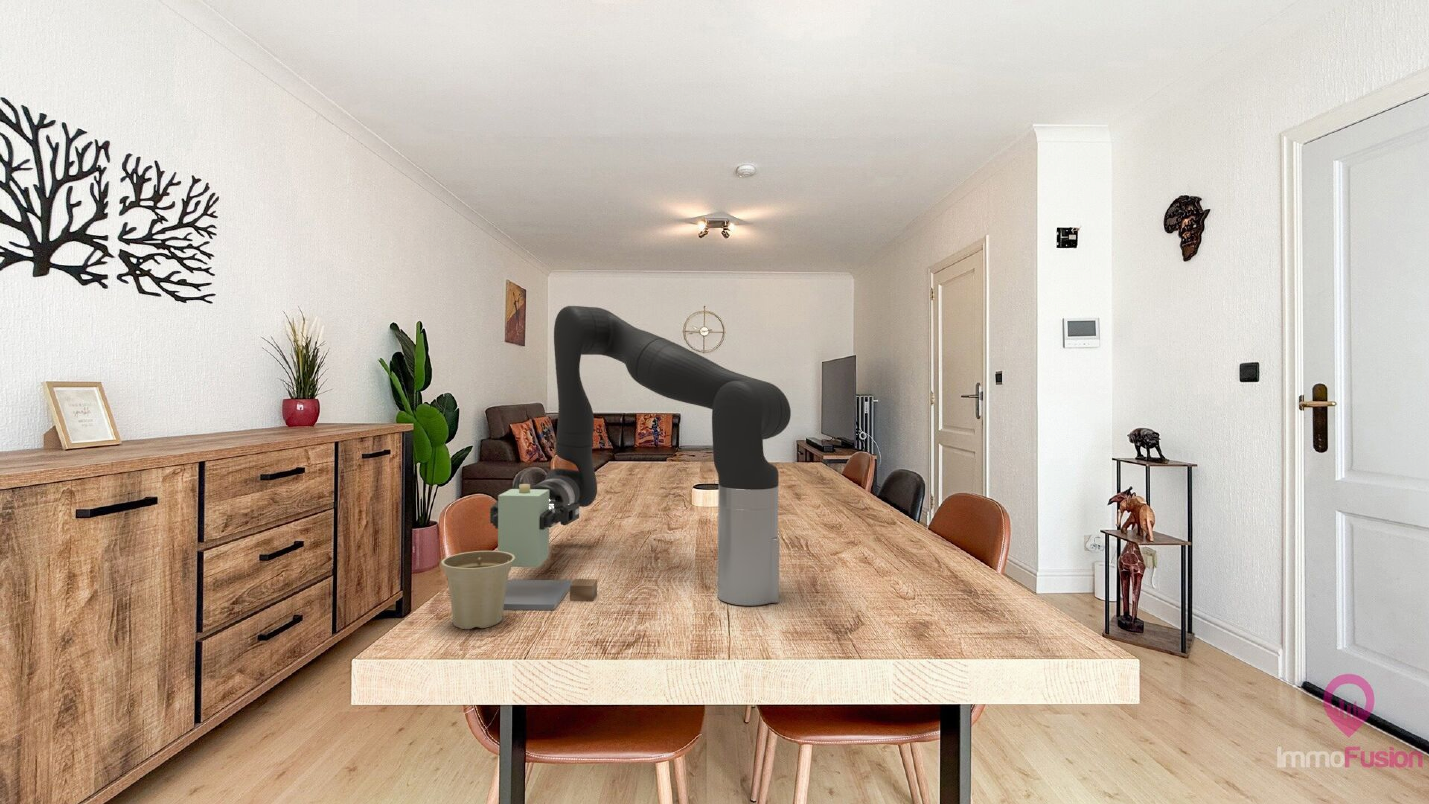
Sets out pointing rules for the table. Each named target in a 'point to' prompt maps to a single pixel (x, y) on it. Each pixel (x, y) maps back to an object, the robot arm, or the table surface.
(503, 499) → the sage green tall block
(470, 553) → the flower pot
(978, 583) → the table surface
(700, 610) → the table surface
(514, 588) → the slate coaster
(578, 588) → the walnut block
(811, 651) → the table surface
